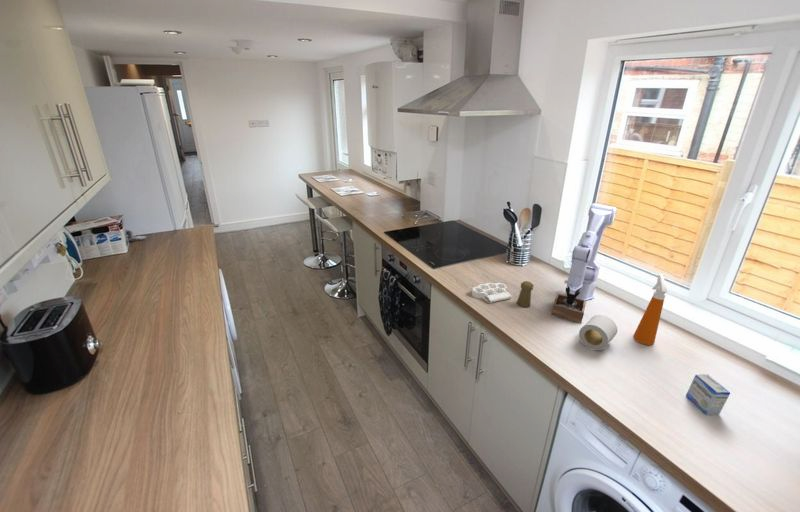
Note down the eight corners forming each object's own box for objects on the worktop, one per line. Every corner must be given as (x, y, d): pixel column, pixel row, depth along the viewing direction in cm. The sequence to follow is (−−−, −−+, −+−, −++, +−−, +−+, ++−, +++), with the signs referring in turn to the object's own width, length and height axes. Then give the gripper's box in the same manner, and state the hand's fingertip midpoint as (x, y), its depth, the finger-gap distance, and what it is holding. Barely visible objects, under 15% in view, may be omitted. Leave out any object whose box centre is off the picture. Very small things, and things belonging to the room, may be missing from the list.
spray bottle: (648, 331, 148) (669, 273, 137) (656, 347, 138) (679, 285, 128) (629, 327, 150) (648, 269, 139) (635, 342, 140) (656, 282, 130)
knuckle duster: (483, 306, 163) (466, 291, 175) (516, 299, 169) (497, 285, 182) (484, 299, 162) (466, 285, 174) (517, 293, 168) (498, 279, 181)
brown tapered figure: (531, 308, 161) (535, 286, 157) (517, 306, 162) (521, 284, 158) (529, 301, 167) (533, 280, 163) (515, 300, 168) (519, 278, 164)
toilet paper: (586, 332, 146) (592, 310, 142) (613, 343, 140) (620, 321, 136) (576, 342, 140) (582, 320, 136) (604, 355, 133) (611, 332, 129)
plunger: (558, 304, 165) (561, 291, 162) (579, 310, 161) (583, 297, 158) (555, 313, 157) (558, 300, 155) (577, 319, 154) (581, 306, 151)
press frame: (554, 302, 167) (557, 293, 165) (583, 310, 161) (586, 300, 160) (550, 314, 157) (553, 304, 155) (581, 323, 152) (583, 313, 150)
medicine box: (685, 395, 116) (694, 373, 112) (698, 395, 116) (707, 373, 113) (706, 415, 108) (717, 392, 105) (720, 414, 109) (731, 392, 105)
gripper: (568, 265, 159) (562, 292, 165) (564, 277, 148) (557, 306, 153) (586, 269, 156) (579, 296, 162) (583, 282, 145) (576, 311, 150)
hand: (570, 302), depth 157 cm, fingers closed on plunger, 3 cm apart
